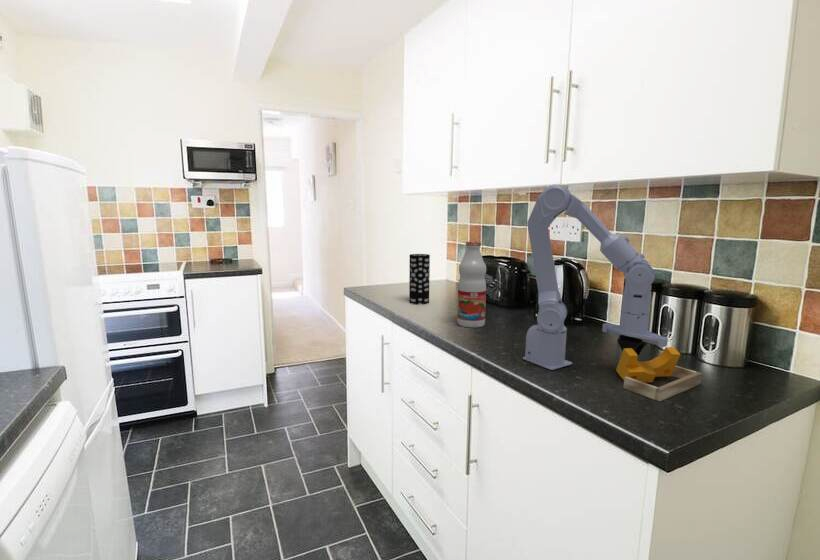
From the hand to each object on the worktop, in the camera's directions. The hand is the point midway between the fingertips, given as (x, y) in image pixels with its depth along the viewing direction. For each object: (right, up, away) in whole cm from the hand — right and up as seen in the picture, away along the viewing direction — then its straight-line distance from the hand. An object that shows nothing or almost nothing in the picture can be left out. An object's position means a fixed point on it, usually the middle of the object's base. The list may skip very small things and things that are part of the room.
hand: (630, 368), depth 101 cm
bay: (+4, -3, -6) cm, 8 cm away
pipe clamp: (+2, -2, -2) cm, 4 cm away
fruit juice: (-31, +6, +44) cm, 54 cm away
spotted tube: (-48, +11, +78) cm, 92 cm away
